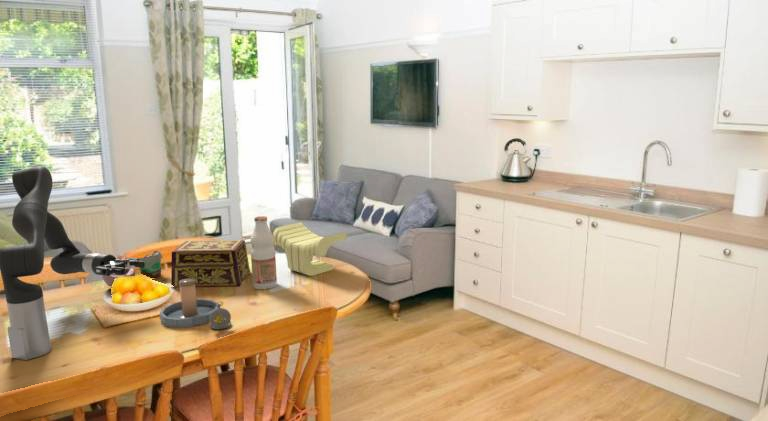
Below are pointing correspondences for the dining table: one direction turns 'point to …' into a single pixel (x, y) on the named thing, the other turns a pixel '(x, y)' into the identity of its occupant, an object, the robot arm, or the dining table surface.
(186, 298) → the spice jar
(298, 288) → the dining table surface
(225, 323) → the grey rounded piece
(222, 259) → the decorative box
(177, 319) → the round tray
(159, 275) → the food container
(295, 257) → the slatted curved stool
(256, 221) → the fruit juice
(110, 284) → the mortar and pestle
